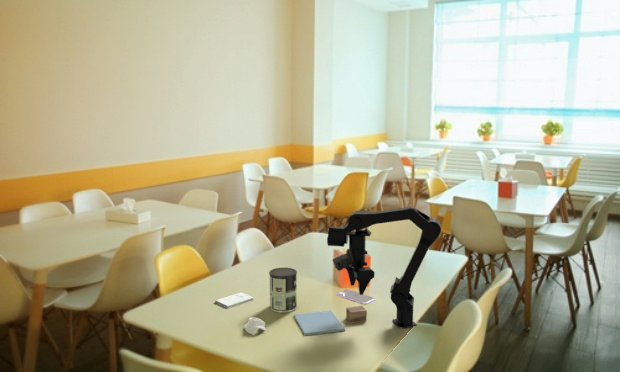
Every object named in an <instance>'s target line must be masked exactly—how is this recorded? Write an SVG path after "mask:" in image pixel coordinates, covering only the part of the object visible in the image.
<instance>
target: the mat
mask: <svg viewBox="0 0 620 372" xmlns="http://www.w3.org/2000/svg"><path fill="white" fill-rule="evenodd" d="M293 317H294V319H295V320H296V322H297V324H298V327H300V330H301V332H302V333H303V335H304V336H311V335H320V334H329V333H337V332H345V331H346V329H345V326H344V325H343V324H342V323H341V321H340V319H338V318H337V316H336V314H334V312H333V311H332V310H321V311H312V312H311V311H310V312H304V313H303V312H302V313H294V314H293Z"/></svg>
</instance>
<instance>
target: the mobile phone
mask: <svg viewBox="0 0 620 372" xmlns="http://www.w3.org/2000/svg"><path fill="white" fill-rule="evenodd" d="M335 295H336V296H338V297H341V298H343V299H346V300H350V301H353V302H354V303H355V302H356V303H357V304H361V305H368V304H369V303H372V302H375V301H376V298H375V297H372V296H369V295H366V294H364V293H363V295H360V294H359V291H358V292H357V291H354V290H351V289H345V290H342V291H339V292H337V293H336V294H335Z"/></svg>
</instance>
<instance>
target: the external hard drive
mask: <svg viewBox="0 0 620 372" xmlns="http://www.w3.org/2000/svg"><path fill="white" fill-rule="evenodd" d="M254 299H255V298H254V297H253V296H251V295H249V294H247V293H244V292H241V291H240V292H238V293H234V294H231V295H229V296H225V297H222V298H219V299H216V300H214V303H215V304H217V305H219V306H221V307H224V308H225V309H230V308H233V307H237V306H240V305H242V304H244V303H245V304H246V303H248V302H251V301H254Z"/></svg>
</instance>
